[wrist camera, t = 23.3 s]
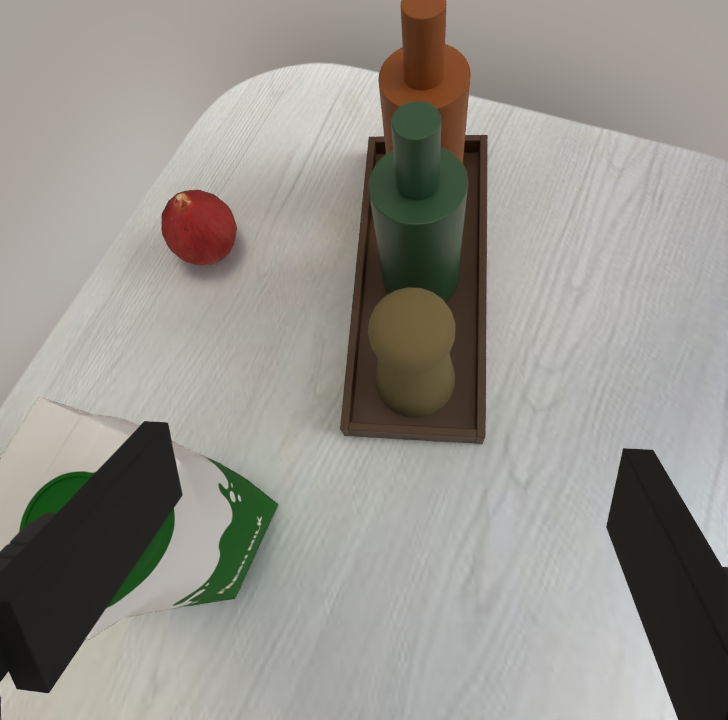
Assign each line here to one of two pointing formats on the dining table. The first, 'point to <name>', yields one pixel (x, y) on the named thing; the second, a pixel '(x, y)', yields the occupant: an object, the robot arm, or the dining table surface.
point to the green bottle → (419, 205)
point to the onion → (198, 227)
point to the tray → (467, 305)
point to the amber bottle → (427, 73)
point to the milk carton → (176, 536)
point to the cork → (413, 351)
